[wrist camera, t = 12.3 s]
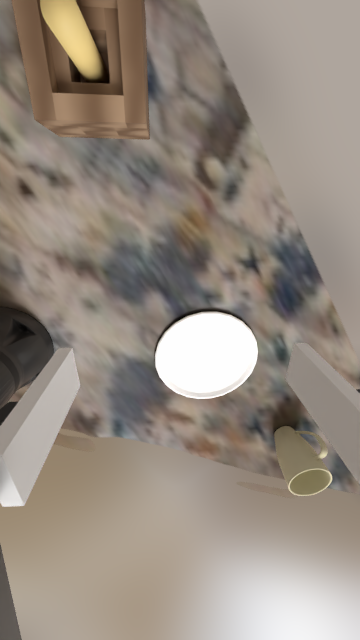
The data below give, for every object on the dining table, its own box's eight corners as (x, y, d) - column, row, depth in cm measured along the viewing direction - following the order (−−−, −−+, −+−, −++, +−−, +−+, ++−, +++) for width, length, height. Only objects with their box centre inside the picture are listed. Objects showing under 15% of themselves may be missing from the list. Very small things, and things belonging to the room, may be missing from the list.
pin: (88, 92, 30) (46, 35, 19) (82, 61, 29) (35, -19, 18) (110, 91, 30) (81, 34, 19) (106, 60, 29) (72, -20, 18)
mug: (306, 438, 61) (337, 488, 51) (268, 449, 62) (291, 500, 51) (303, 409, 57) (335, 456, 46) (262, 420, 58) (284, 469, 47)
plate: (137, 333, 46) (136, 336, 45) (240, 292, 44) (242, 294, 43) (178, 407, 55) (178, 411, 54) (266, 376, 52) (268, 379, 51)
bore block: (59, 136, 32) (34, 119, 26) (38, 6, 27) (0, -54, 21) (149, 139, 33) (146, 123, 27) (145, 13, 28) (139, -44, 22)
